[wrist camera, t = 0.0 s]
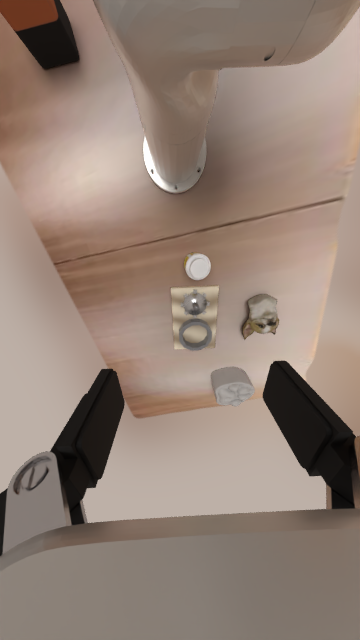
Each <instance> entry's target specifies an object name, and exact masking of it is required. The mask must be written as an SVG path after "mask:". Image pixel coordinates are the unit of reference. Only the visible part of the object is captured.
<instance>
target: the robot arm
mask: <svg viewBox="0 0 360 640" xmlns="http://www.w3.org/2000/svg"><path fill="white" fill-rule="evenodd" d="M93 1H94V4H95V6H96V8H97V11H98V13H99V15H100V18H101V20H102V22H103V24H104V26H105V29H106V31H107V33H108V35H109V37H110V39H111V41H112V43H113V45H114V47H115V49H116V51H117V53H118V55H119V57H120V58H121V60H122V62H123V65H124V67H125V69H126V72H127V75H128V78H129V81H130V84H131V87H132V90H133V94H134V97H135V101H136V105H137V108H138V112H139V115H140V119H141V123H142V126H143V130H144V133H145V135H144V141H143V156H144V162H145V165H146V168H147V171H148V173H149V175H150V177H151V179H152V180H153V182H154V183H155V184H156V185H157V186H158V187H159V188H161V189H162V190H164V191H166V192H168V193H172V194H179V193H183V192H185V191H187V190H189V189H190V188H192V187H193V186H194V185H195V184H196V183H197V181H198V180H199V178H200V176H201V174H202V172H203V169H204V166H205V162H206V156H207V146H206V139H205V133H206V130H207V126H208V123H209V119H210V115H211V112H212V108H213V104H214V100H215V97H216V92H217V86H218V75H219V70H221V69H222V68H237V67H269V66H285V65H293V64H299V63H302V62H305V61H307V60H309V59H312V58H313V57H315V56H316V55H318V54H319V53H321V52H322V51H323V50H324V49H325V48H326V47H328V46H329V45H330V44H331V43H332V42H333V41H334V39H335V38H336V37H337V36H338V35H339V34H340V33H341V31H342V30H343V29H344V28H345V26H346V25H347V24H348V22H349V21H350V20H351V18H352V17H353V15H354V14H355V12H356V11H357V10H358V8H359V7H360V0H93ZM198 170H199V173H198V172H197V171H198ZM152 172H154V174H153V175H152ZM175 188H177V190H175ZM263 399H264V401H265V403H266V405H267V407H268V409H269V410H270V412H271V414H272V416H273V417H274V419H275V421H276V423H277V425H278V426H279V428H280V430H281V432H282V433H283V435H284V437H285V439H286V440H287V442H288V444H289V446H290V447H291V449H292V451H293V453H294V455H295V456H296V458H297V460H298V462H299V463H300V465H301V466H302V467H303V468H305V469H306V470H307V472H308V474H309V476H322V477H323V479H324V481H325V482H326V509H321V510H320V509H318V510H297V511H276V512H256V513H238V514H220V515H201V516H183V517H167V518H150V519H135V520H120V521H108V522H96V523H87V518H86V514H85V509H84V505H83V501H82V499H83V497H84V495H85V492H86V489H87V488H95V487H96V484H97V481H98V480H99V479H101V478H102V475H103V473H104V470H105V466H106V463H107V460H108V457H109V454H110V450H111V447H112V444H113V441H114V438H115V434H116V431H117V428H118V425H119V422H120V418H121V415H122V412H123V409H124V398H123V395H122V391H121V387H120V384H119V380H118V376H117V373H116V371H113V369H102V370H101V371H100V373H99V375H98V376H97V378H96V380H95V381H94V383H93V385H92V386H91V388H90V390H89V391H88V393H87V394H85V395H84V396H83V398H82V399H81V401H80V403H79V404H78V406H77V408H76V409H75V411H74V413H73V414H72V416H71V418H70V419H69V421H68V422H67V424H66V426H65V427H64V429H63V431H62V432H61V434H60V436H59V437H58V439H57V441H56V442H55V444H54V446H53V447H52V449H51V451H50V452H47V451H46V452H42V453H39V454H37V455H36V456H33V457H32V458H30V459H29V460H28V461H26V462H25V463H24V465H22V466H21V467H20V468H19V469H18V471H17V472H16V473H15V475H14V476H13V478H12V479H11V481H10V484H9V486H8V488H7V489H6V490H5V491H3V492H2V493H1V494H0V640H360V436H357V437H356V436H355V435H354V434H353V433H352V432H353V431H352V430H351V429H350V428H349V427H348V426H347V425H346V424H345V423H344V422H343V421H342V420H341V418H340V417H338V415H337V414H336V413H335V412H334V411H333V410H332V409H331V408H330V407H329V406H328V405H327V404H326V403H325V402H324V400H323V399H322V398H321V397H320V396H319V395H318V394H317V393H316V392H315V391H314V390H313V389H312V388H311V387H310V386H309V385H308V384H307V382H306V381H305V380H304V379H303V378H302V377H301V376H300V375H299V374H298V373H297V372H296V371H295V370H294V369H293V368H292V367H291V366H290V364H289V363H288V362H286V361H274V362H273V364H271V366H270V370H269V373H268V377H267V381H266V384H265V388H264V392H263Z"/></svg>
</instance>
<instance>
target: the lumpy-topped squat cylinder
mask: <svg viewBox="0 0 360 640" xmlns="http://www.w3.org/2000/svg"><path fill="white" fill-rule="evenodd" d="M211 379H212V386H213V390H214V393H215V397H216V401H217V403H218V404H220V405H232V406H238V405H240V404H241V402H244V401H245V400H247V399H249V398H250V397H251V396H252V395H253V394H254V391H255V390H254V387H253V385H252V383H251V381H250V380H249V378H248V376H247V374H246V372H245V371H244V370H242V369H240V368H237V367H226V368H221V369H218V370H215V371H213V372H212V373H211Z"/></svg>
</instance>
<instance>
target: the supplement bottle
mask: <svg viewBox="0 0 360 640" xmlns="http://www.w3.org/2000/svg"><path fill="white" fill-rule="evenodd" d="M184 268H185V270H186V273H187V275H188V276H189V277H190V278H192V279H194V280H201V279H204V278H205V277H206V276H207V275H208V274H209V272H210V269H211V263H210V260H209V259H208V257H207V256H205V255H203V254H201V253H198V252H192V253H190V254H188V255H187V256H186V258H185V260H184Z"/></svg>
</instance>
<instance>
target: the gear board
mask: <svg viewBox="0 0 360 640" xmlns="http://www.w3.org/2000/svg"><path fill="white" fill-rule="evenodd" d="M193 289H197V292H198V293H201V294H202V293H203V292H204V293H206V295H207V296H206V297H205V299H206V301H209V302H210V306H206V309H205V311H206V313H205V314H202V313H201V314H199V315H197V318H200V319H202V320H204V321H206V322H207V323H208V325H209V327H210V328H211V331H212V340H211V342H210V343H209V344H208V346H207V347H205V348H215V336H216V322H217V307H218V293H219V286H218V285H211V286H187V287H171V301H172V317H173V333H174V349H175V350H178V349H187V348H184V347H183V345H182V344H181V343H180V341H179V329H180V327H181V325H182V324H183V323H184V322H185V321H187V320H189V319H195V318H193V315H191V314H188V315H185V314H184V311H185V309H184V307H181V302H184V299H185V297H184V296H183V295H184V294H185V293H187V294H190V293H193ZM206 336H207V330H206V328H204V327H202V326H200V325H194V326H190V327H189V328H187V329H186V330H185V331H184V333H183V338H184V339H185V340H186V341H188V342H190V343H199V342H200V341H202V340H204V338H205V337H206Z"/></svg>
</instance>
